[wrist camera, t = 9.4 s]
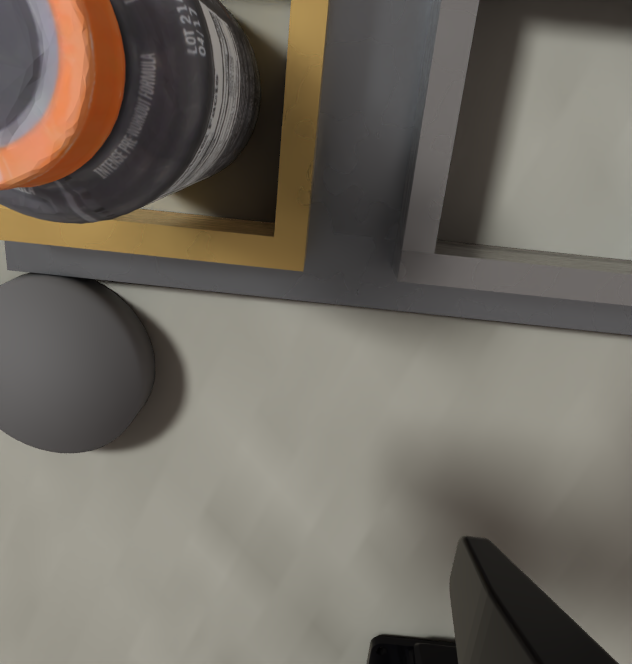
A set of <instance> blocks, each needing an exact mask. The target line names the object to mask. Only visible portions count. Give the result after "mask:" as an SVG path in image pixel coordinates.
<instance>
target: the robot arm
mask: <svg viewBox="0 0 632 664" xmlns="http://www.w3.org/2000/svg"><path fill="white" fill-rule="evenodd" d="M450 599H451V607H452V615H453V624H454V632H455V640H456V643H448V642H438V641H428V640H418V639H408V638H398V637H388V636H377V637H374V638H373V639H372V640H371V643H370V648H369V653H368V659H367V664H619V663H618V662H617V661H615V660H614V659H613V658H612V657H611V656H610V655H609V654H608V653H607V652H606V651H605V650H604V649H603V648H602V647H601V646H600V645H599V644H598V643H597V642H596V641H595V640H593V639H592V638H591V637H590V636H589V635H588V634H587V633H586V632H585V631H584V630H583V629H582V628H581V627H580V626H579V625H578V624H577V623H576V622H575V621H574V620H573V619H571V618H570V617H569V616H568V615H567V614H566V613H565V612H564V611H563V610H562V609H561V608H560V607H559V606H558V605H557V604H556V603H555V602H554V601H553V600H552V599H551V598H549V597H548V596H547V595H546V594H545V593H544V592H543V591H542V590H541V589H540V588H539V587H538V586H537V585H536V584H535V583H534V582H533V581H532V580H531V579H530V578H529V577H527V576H526V575H525V574H524V573H523V572H522V571H521V570H520V569H519V568H518V567H517V566H516V565H515V564H514V563H513V562H512V561H511V560H510V559H509V558H508V557H507V556H505V555H504V554H503V553H502V552H501V551H500V550H499V549H498V548H497V547H496V546H495V545H494V544H493V543H492V542H491V541H489V540H488V539H486V538H482V537H473V536H463V537H461V538H460V540H459V542H458V545H457V549H456V554H455V558H454V562H453V567H452V571H451V576H450ZM380 647H382V648H380Z"/></svg>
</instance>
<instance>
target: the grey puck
mask: <svg viewBox="0 0 632 664" xmlns="http://www.w3.org/2000/svg"><path fill="white" fill-rule="evenodd" d="M154 377H155V359H154V353H153V349H152V345H151V342H150V339H149V337H148V335H147V332H146V330H145V328H144V327H143V325H142V323H141V321H140V320H139V318H138V317H137V316H136V314H135V313H134V312H133V310H132V309H131V308H130V307H129V306H128V305H127V304H126V303H125V302H124V301H123V300H122V299H121V298H120V297H118V296H117V295H116V294H115V293H114V292H112V291H111V290H109V289H108V288H106V287H105V286H103V285H102V284H100V283H98V282H96V281H94V280H92V279H89V278H80V277H70V276H60V275H51V274H41V273H32V272H30V273H27V274H24V275H21V276H19V277H16V278H14V279H12V280H10V281H8V282H6V283H4V284H2V285H0V429H1V430H2V431H3V432H5V433H6V434H8V435H10V436H11V437H13V438H15V439H16V440H18V441H20V442H23V443H25V444H27V445H29V446H32V447H35V448H38V449H42V450H46V451H50V452H57V453H80V452H86V451H91V450H94V449H97V448H100V447H103V446H104V445H106V444H108V443H110V442H112V441H113V440H114V439H116V438H117V437H118V436H120V435H121V434H122V433H123V432H124V431H125V429H126V428H127V427H128V426H129V424H130V423H131V422H132V420H133V419H134V418H135V416H136V415H137V414H138V412H139V411H140V410H141V409H142V407H143V406H144V404H145V403H146V401H147V399H148V397H149V395H150V393H151V390H152V387H153V383H154Z"/></svg>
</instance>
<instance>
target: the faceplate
mask: <svg viewBox="0 0 632 664" xmlns="http://www.w3.org/2000/svg"><path fill="white" fill-rule="evenodd" d="M478 5H479V0H291V10H290V24H289V38H288V52H287V66H286V79H285V93H284V107H283V121H282V135H281V149H280V162H279V176H278V190H277V204H276V218H275V223H269V222H260V221H250V220H241V219H231V218H222V217H212V216H203V215H193V214H184V213H174V212H165V211H155V210H146V209H137V210H135V211H133V212H131V213H129V214H125V215H122V216H119V217H117V218H114V219H112V220H105V221H98V222H94V223H84V224H75V223H60V222H52V221H46V220H41V219H37V218H34V217H31V216H27V215H24V214H21V213H19V212H17V211H14V210H12V209H9V208H7V207H5V206H3V205H1V204H0V240H5V250H6V260H7V269H8V270H12V271H22V272H32V273H41V274H51V275H60V276H70V277H80V278H89V279H99V280H108V281H118V282H127V283H137V284H147V285H156V286H166V287H175V288H185V289H195V290H204V291H214V292H223V293H233V294H243V295H252V296H262V297H271V298H281V299H291V300H300V301H310V302H319V303H329V304H338V305H348V306H358V307H367V308H377V309H386V310H396V311H406V312H415V313H425V314H434V315H444V316H454V317H463V318H473V319H482V320H492V321H501V322H511V323H521V324H530V325H540V326H549V327H559V328H569V329H578V330H588V331H597V332H607V333H617V334H626V335H632V261H631V260H621V259H612V258H602V257H593V256H583V255H574V254H564V253H555V252H545V251H536V250H526V249H517V248H507V247H498V246H488V245H479V244H469V243H460V242H450V241H441V240H437V235H438V229H439V224H440V218H441V213H442V207H443V201H444V196H445V190H446V185H447V179H448V173H449V168H450V162H451V157H452V151H453V145H454V140H455V134H456V129H457V123H458V117H459V112H460V106H461V100H462V95H463V89H464V84H465V78H466V72H467V67H468V61H469V56H470V50H471V44H472V39H473V33H474V28H475V22H476V16H477V11H478Z"/></svg>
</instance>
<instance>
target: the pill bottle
mask: <svg viewBox="0 0 632 664" xmlns="http://www.w3.org/2000/svg"><path fill="white" fill-rule="evenodd" d="M260 98H261V86H260V76H259V71H258V66H257V62H256V59H255V55H254V52H253V50H252V47H251V45H250V43H249V40H248V38H247V36H246V35H245V33H244V32H243V30H242V28H241V27H240V25H239V24H238V23H237V21H236V20H235V19H234V17H233V16H232V15H231V13H230V12H229V11H228V10H227V9H226V8H225V7H224V6H223V4H222V3H221V2H220V1H219V0H0V204H1V205H3V206H5V207H7V208H9V209H12V210H14V211H17V212H19V213H21V214H24V215H27V216H31V217H34V218H37V219H41V220H46V221H52V222H60V223H75V224H84V223H94V222H98V221H105V220H112V219H114V218H117V217H119V216H122V215H125V214H129V213H131V212H133V211H135V210H137V209H139V208H141V207H143V206H146V205H148V204H150V203H152V202H155V201H157V200H159V199H161V198H164V197H166V196H168V195H170V194H173V193H175V192H177V191H179V190H182V189H184V188H186V187H188V186H190V185H192V184H194V183H197V182H199V181H201V180H204V179H206V178H208V177H210V176H213V175H214V174H216V173H218V172H219V171H221V170H223V169H224V168H226V167H227V166H228V165H229V164H230V163H231V162H232V161H234V160H235V159H236V158H237V156H238V155H239V154H240V153H241V151H242V150H243V149H244V147H245V146H246V144H247V142H248V141H249V138H250V136H251V134H252V132H253V129H254V127H255V124H256V121H257V117H258V113H259V108H260Z"/></svg>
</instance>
